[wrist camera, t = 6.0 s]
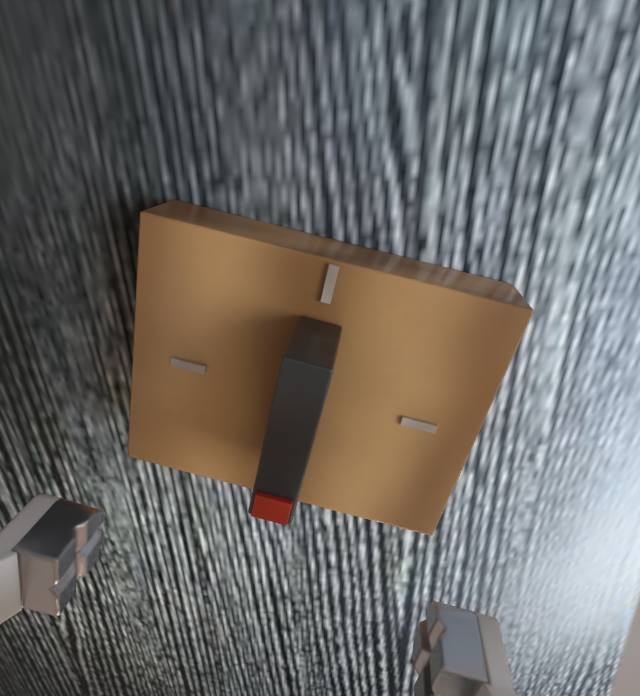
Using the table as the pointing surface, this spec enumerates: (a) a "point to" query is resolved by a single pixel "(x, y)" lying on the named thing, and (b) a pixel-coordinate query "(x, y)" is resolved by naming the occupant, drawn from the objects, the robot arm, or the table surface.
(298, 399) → the dark grey block
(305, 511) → the table surface
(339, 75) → the table surface
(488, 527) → the table surface
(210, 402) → the control panel
